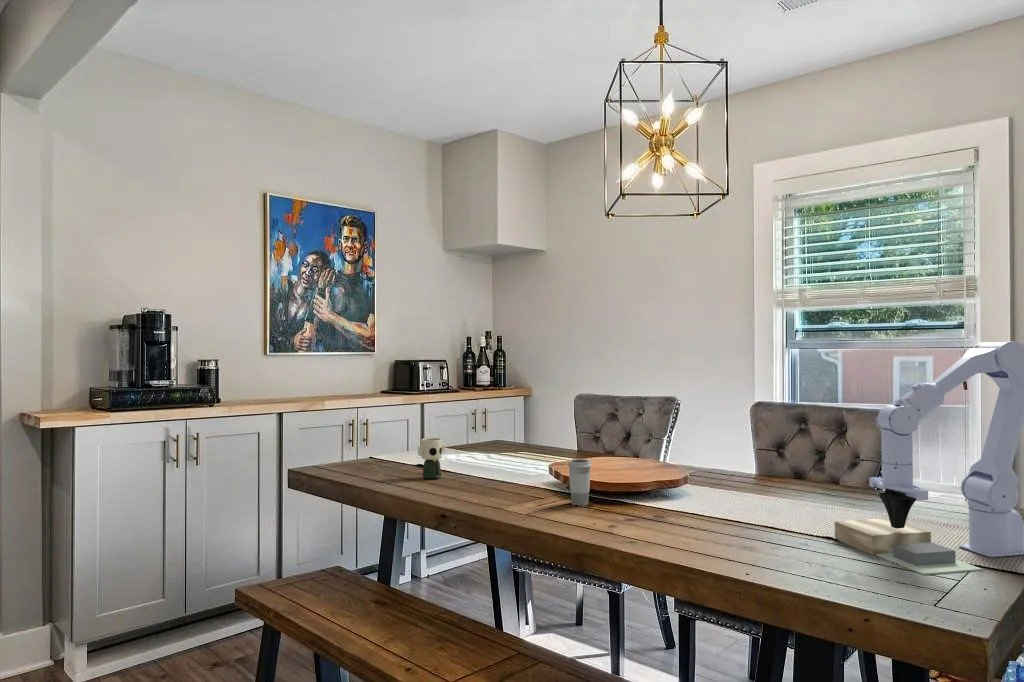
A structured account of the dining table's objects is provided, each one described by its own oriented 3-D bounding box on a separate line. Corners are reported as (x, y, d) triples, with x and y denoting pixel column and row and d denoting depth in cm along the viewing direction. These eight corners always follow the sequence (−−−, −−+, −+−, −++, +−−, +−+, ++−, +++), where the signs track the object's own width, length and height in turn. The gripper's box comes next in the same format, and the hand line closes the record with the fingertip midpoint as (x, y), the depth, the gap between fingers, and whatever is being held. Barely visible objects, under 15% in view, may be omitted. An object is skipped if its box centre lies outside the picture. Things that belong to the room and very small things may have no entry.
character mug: (424, 482, 224) (424, 441, 224) (412, 479, 229) (412, 439, 229) (451, 477, 231) (451, 438, 231) (438, 474, 237) (438, 436, 237)
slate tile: (955, 550, 137) (955, 562, 137) (931, 542, 143) (931, 554, 143) (915, 553, 135) (916, 565, 135) (893, 545, 141) (893, 556, 141)
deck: (889, 535, 158) (889, 518, 158) (931, 550, 146) (930, 531, 146) (834, 539, 155) (834, 521, 155) (872, 554, 143) (872, 535, 143)
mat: (930, 551, 145) (930, 550, 145) (982, 570, 133) (982, 568, 133) (876, 555, 143) (876, 554, 143) (923, 575, 131) (923, 573, 131)
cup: (588, 507, 187) (588, 463, 187) (564, 506, 189) (564, 462, 189) (594, 502, 194) (594, 459, 194) (571, 500, 196) (570, 458, 196)
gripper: (856, 458, 152) (857, 520, 152) (906, 469, 138) (907, 537, 138) (885, 456, 154) (885, 518, 153) (936, 468, 139) (937, 535, 139)
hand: (897, 527), depth 146 cm, fingers closed
